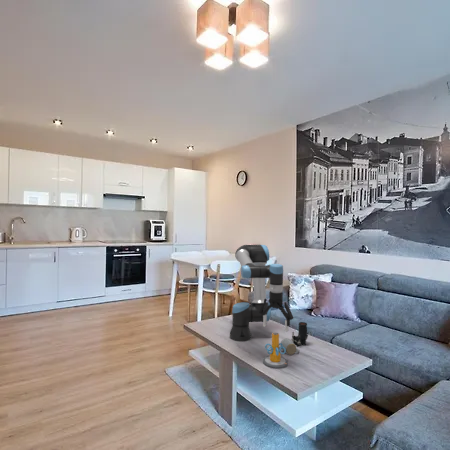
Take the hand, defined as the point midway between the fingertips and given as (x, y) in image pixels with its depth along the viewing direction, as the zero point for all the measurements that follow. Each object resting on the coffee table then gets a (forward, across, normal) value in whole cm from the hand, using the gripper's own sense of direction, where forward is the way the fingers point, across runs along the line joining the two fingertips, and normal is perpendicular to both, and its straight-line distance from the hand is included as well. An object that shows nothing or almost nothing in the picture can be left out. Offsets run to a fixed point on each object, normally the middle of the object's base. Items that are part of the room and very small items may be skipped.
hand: (275, 328), depth 174 cm
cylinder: (+18, 0, 0) cm, 18 cm away
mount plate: (+19, 0, 0) cm, 19 cm away
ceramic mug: (+20, +2, +18) cm, 27 cm away
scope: (+20, +2, +35) cm, 40 cm away
